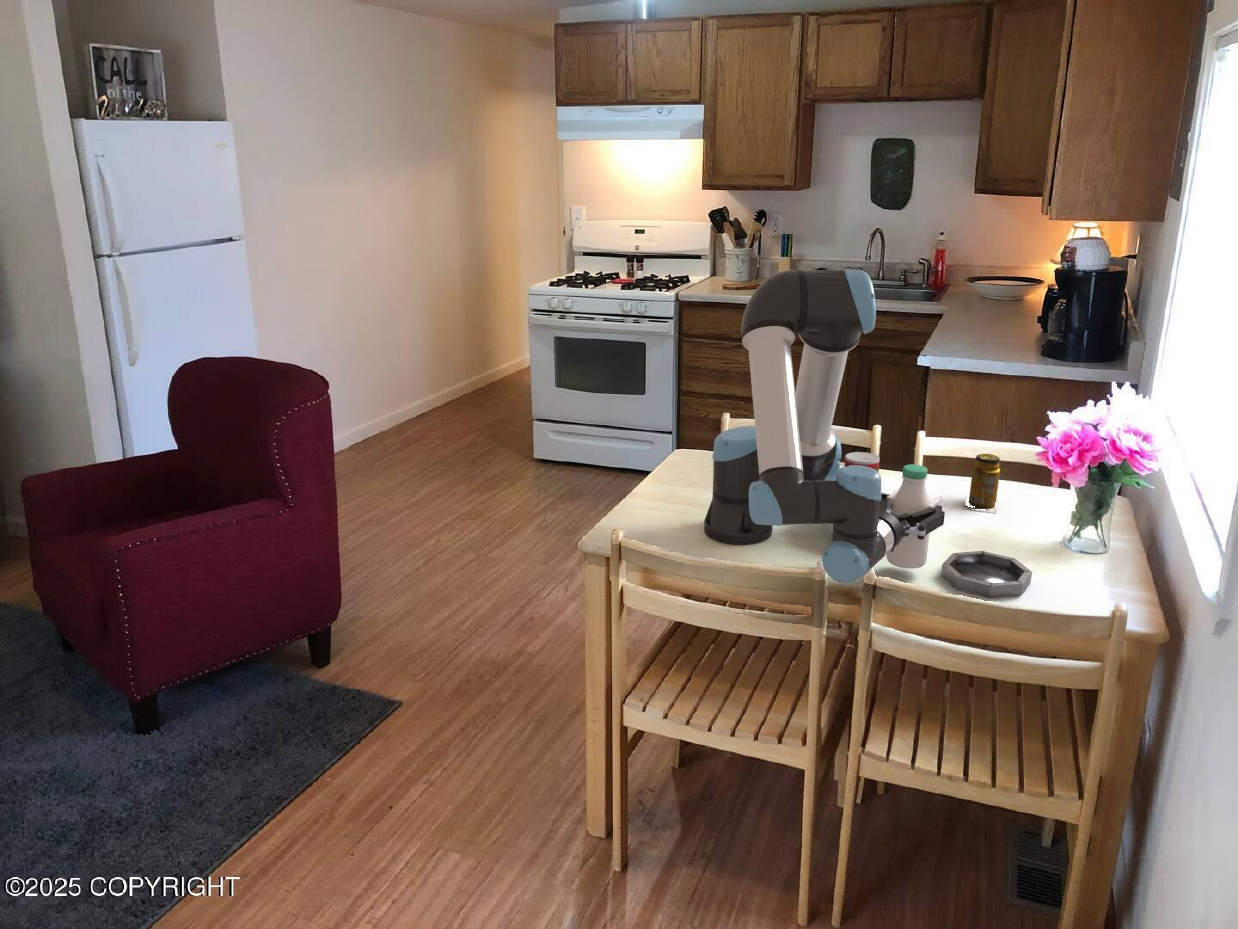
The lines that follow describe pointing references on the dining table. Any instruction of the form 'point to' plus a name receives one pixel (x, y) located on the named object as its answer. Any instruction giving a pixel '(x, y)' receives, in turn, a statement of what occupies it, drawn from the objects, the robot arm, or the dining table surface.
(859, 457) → the canned food
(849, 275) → the robot arm
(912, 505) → the milk bottle
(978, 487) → the condiment
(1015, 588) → the grey octagonal tray
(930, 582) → the dining table surface
